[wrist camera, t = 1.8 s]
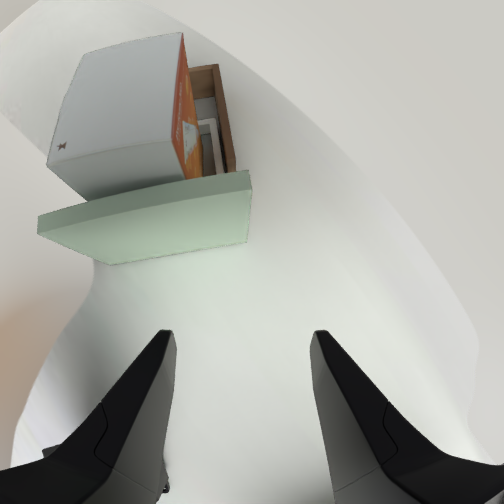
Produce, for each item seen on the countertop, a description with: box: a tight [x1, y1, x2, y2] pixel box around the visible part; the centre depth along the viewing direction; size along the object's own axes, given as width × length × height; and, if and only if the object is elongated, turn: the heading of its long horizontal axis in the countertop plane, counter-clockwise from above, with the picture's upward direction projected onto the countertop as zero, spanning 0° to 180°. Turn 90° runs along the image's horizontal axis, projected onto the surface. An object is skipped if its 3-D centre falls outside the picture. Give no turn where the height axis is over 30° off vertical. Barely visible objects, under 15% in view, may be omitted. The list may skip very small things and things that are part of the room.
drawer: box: [37, 118, 252, 265], centre depth 18 cm, size 11×11×10 cm
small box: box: [46, 32, 203, 202], centre depth 17 cm, size 8×6×13 cm
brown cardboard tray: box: [188, 64, 236, 173], centre depth 22 cm, size 11×11×4 cm
